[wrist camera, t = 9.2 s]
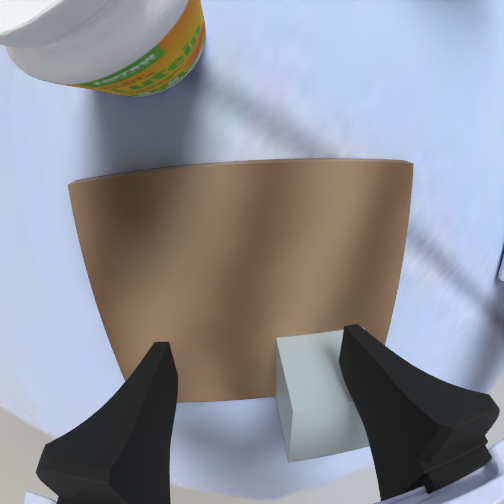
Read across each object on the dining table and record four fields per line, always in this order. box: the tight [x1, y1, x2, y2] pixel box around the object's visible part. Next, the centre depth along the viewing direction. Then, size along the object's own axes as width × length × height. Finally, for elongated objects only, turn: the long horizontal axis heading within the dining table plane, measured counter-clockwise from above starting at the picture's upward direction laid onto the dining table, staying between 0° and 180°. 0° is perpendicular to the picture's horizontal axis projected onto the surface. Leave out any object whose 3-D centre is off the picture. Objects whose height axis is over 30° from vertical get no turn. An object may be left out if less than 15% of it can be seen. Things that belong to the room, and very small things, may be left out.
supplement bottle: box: [0, 0, 206, 97], centre depth 6 cm, size 5×5×10 cm
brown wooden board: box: [68, 158, 413, 402], centre depth 16 cm, size 16×14×1 cm
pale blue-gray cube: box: [276, 327, 370, 462], centre depth 15 cm, size 5×5×5 cm
